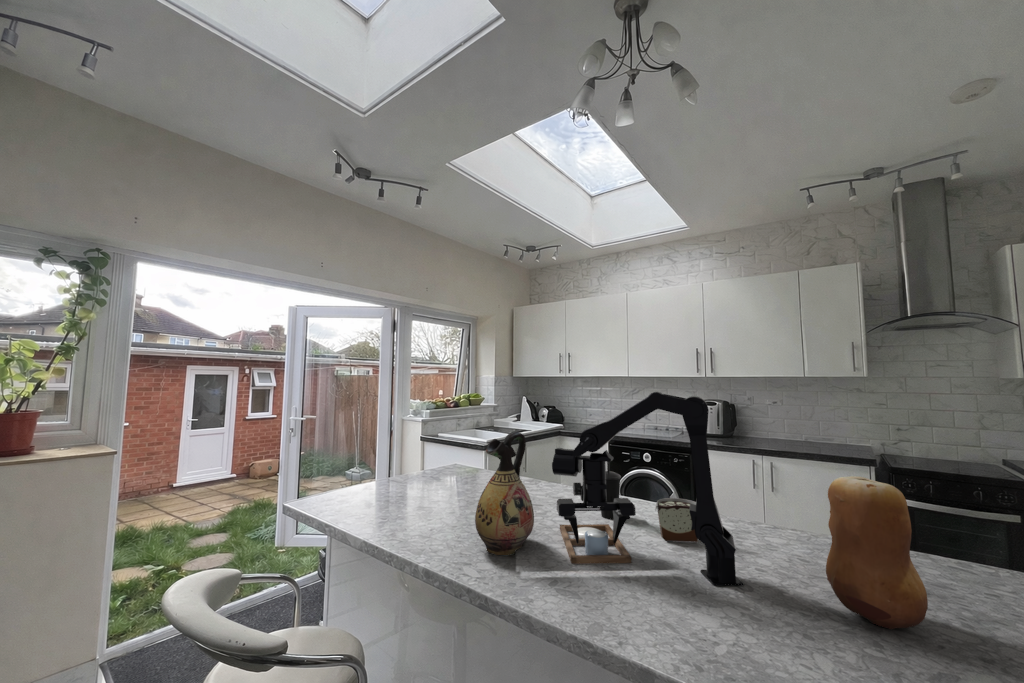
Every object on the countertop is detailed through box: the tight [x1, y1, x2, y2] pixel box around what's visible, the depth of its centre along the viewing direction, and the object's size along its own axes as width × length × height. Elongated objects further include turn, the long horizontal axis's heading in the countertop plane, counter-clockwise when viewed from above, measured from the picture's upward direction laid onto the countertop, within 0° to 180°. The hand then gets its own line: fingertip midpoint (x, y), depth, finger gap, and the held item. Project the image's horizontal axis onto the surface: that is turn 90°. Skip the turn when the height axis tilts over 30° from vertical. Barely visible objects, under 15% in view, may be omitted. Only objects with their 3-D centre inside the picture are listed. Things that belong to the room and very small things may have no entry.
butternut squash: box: [825, 475, 929, 630], centre depth 76 cm, size 14×13×25 cm
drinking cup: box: [600, 462, 622, 520], centre depth 130 cm, size 8×8×20 cm
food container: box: [654, 497, 699, 543], centre depth 115 cm, size 12×6×10 cm, turn 84°
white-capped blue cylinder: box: [584, 530, 609, 555], centre depth 102 cm, size 6×6×5 cm
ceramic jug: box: [474, 431, 535, 556], centre depth 109 cm, size 17×15×30 cm
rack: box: [559, 523, 632, 565], centre depth 107 cm, size 22×14×2 cm, turn 0°
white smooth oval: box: [573, 527, 598, 539], centre depth 113 cm, size 8×8×1 cm
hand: (595, 542), depth 102 cm, fingers open, 9 cm apart
